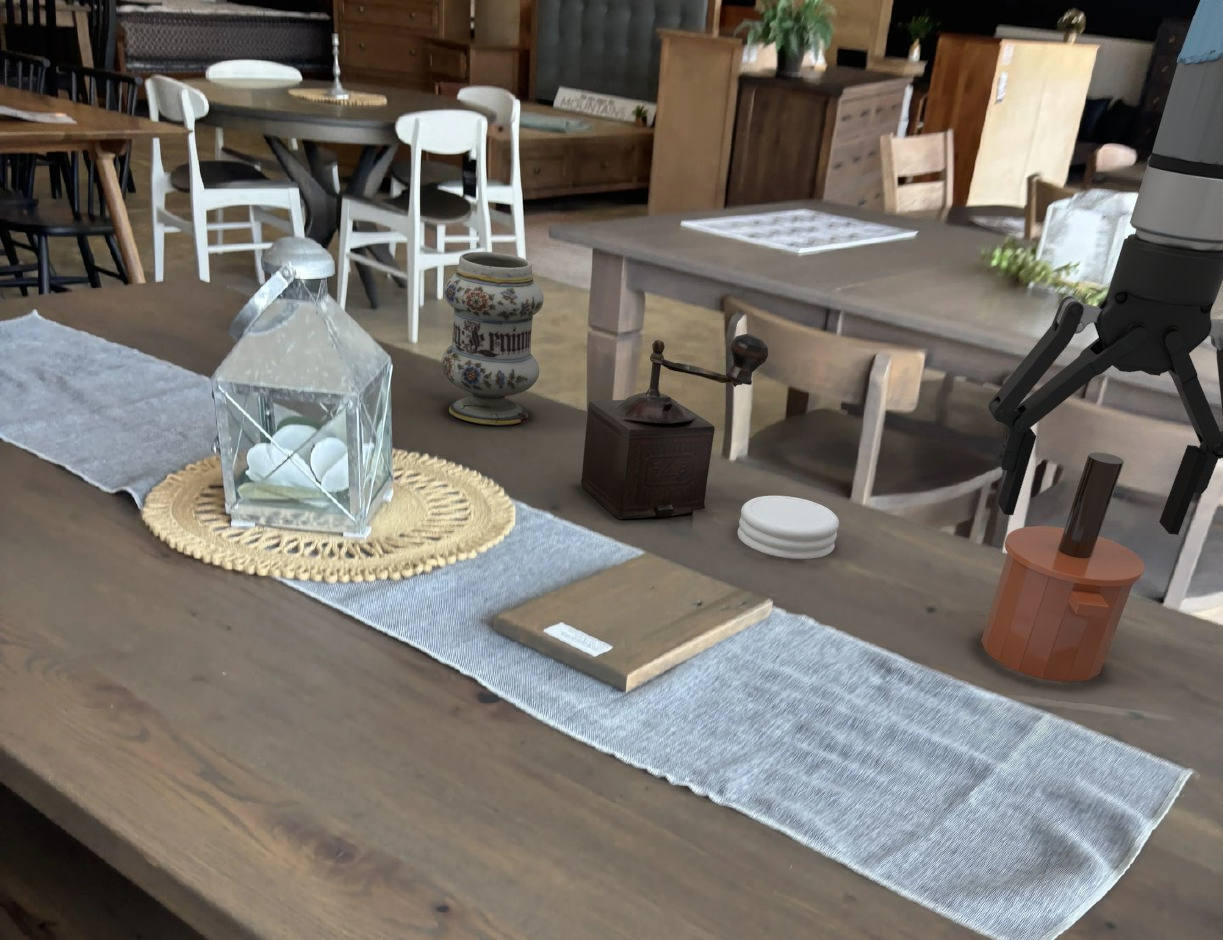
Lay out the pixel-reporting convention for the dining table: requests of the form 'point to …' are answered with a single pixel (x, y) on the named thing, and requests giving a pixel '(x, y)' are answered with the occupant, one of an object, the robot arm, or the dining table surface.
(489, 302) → the apothecary jar
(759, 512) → the white stacked discs
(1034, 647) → the pot
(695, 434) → the coffee grinder
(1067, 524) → the lid
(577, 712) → the dining table surface
